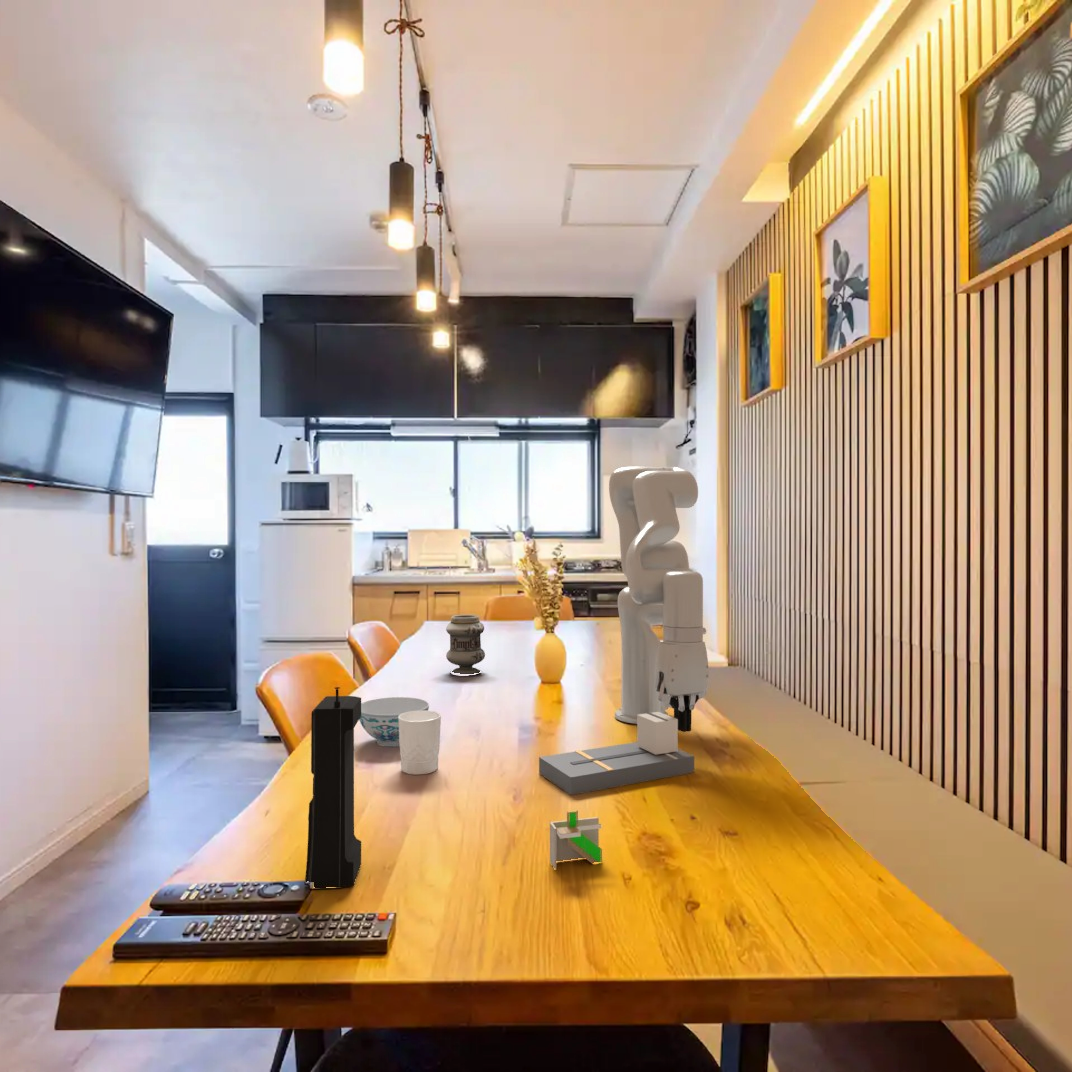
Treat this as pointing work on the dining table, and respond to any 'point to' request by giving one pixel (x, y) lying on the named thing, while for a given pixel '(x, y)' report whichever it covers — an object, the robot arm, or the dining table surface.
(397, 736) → the chinaware
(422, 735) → the white cup
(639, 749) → the board
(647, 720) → the fader tab
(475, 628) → the apothecary jar
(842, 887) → the dining table surface
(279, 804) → the dining table surface
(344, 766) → the portable radio
